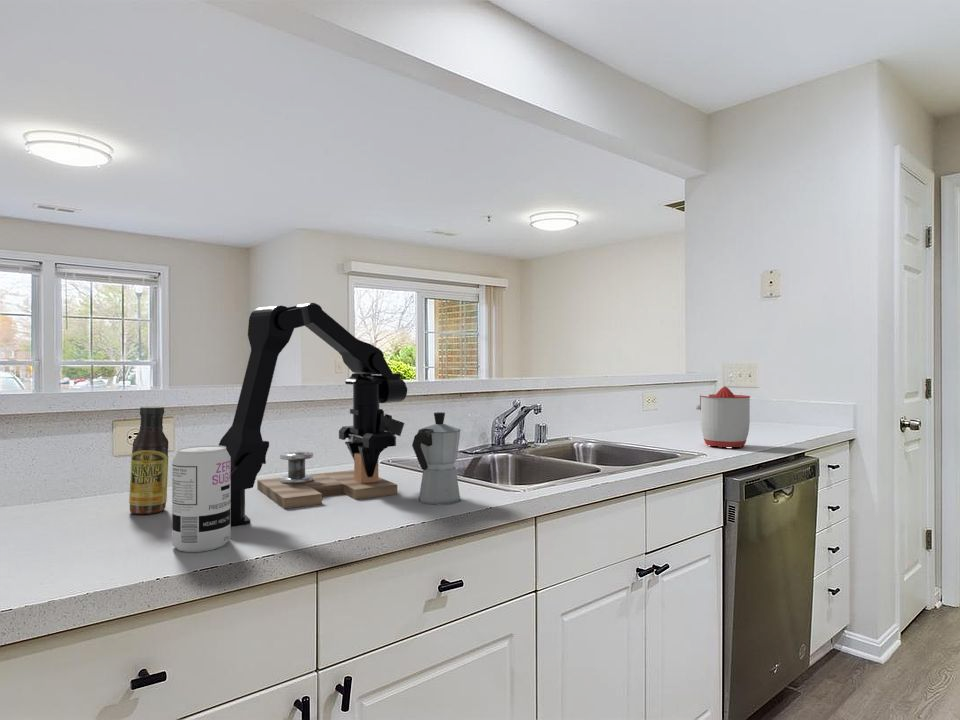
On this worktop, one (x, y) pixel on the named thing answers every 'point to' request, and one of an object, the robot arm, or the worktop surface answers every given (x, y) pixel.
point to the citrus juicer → (725, 418)
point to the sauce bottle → (149, 464)
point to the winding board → (323, 489)
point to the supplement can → (201, 498)
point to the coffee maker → (438, 461)
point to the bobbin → (296, 467)
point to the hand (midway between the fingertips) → (366, 475)
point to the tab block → (363, 471)
